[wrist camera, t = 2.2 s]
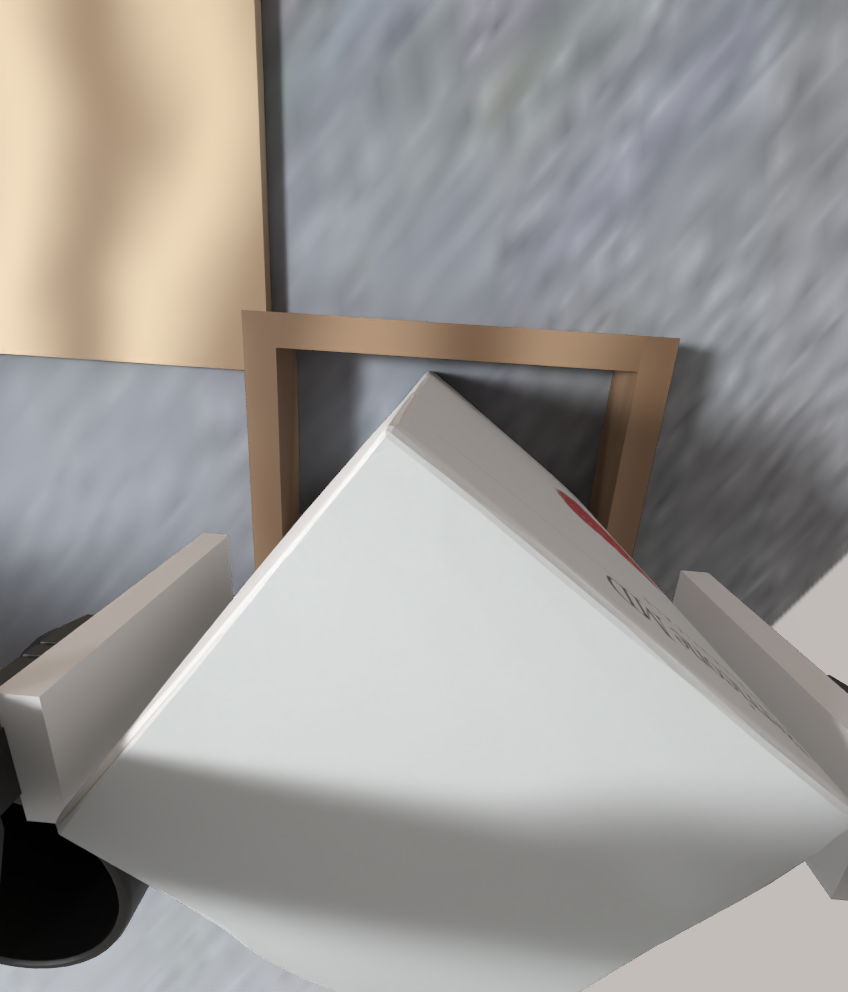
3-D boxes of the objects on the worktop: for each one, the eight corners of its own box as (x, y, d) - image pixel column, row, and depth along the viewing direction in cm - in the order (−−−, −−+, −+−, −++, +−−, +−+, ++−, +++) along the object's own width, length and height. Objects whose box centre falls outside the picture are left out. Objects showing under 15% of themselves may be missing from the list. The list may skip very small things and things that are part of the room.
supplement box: (585, 498, 21) (902, 836, 6) (452, 628, 23) (465, 1089, 9) (430, 361, 19) (391, 400, 5) (304, 515, 21) (27, 847, 7)
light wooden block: (-30, 350, 20) (-44, 350, 19) (-121, -51, 16) (-142, -67, 15) (273, 371, 19) (268, 371, 19) (259, -32, 15) (252, -47, 15)
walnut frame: (279, 639, 23) (260, 672, 21) (266, 314, 19) (241, 309, 16) (584, 663, 23) (600, 700, 21) (649, 339, 18) (680, 338, 16)
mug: (215, 580, 23) (75, 724, 14) (247, 770, 26) (151, 976, 18) (29, 579, 23) (-218, 718, 14) (86, 766, 27) (-84, 965, 18)
